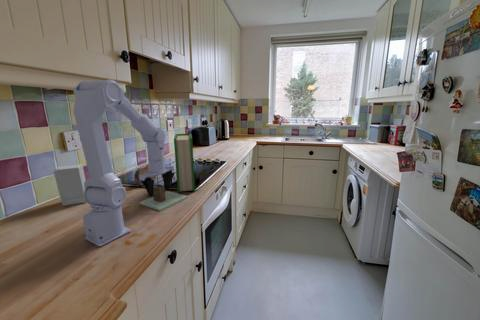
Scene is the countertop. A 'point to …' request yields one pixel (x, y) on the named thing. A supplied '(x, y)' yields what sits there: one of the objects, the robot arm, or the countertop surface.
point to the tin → (141, 171)
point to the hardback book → (184, 162)
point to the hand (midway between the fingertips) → (159, 193)
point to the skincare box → (70, 184)
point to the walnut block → (159, 193)
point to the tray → (170, 200)
